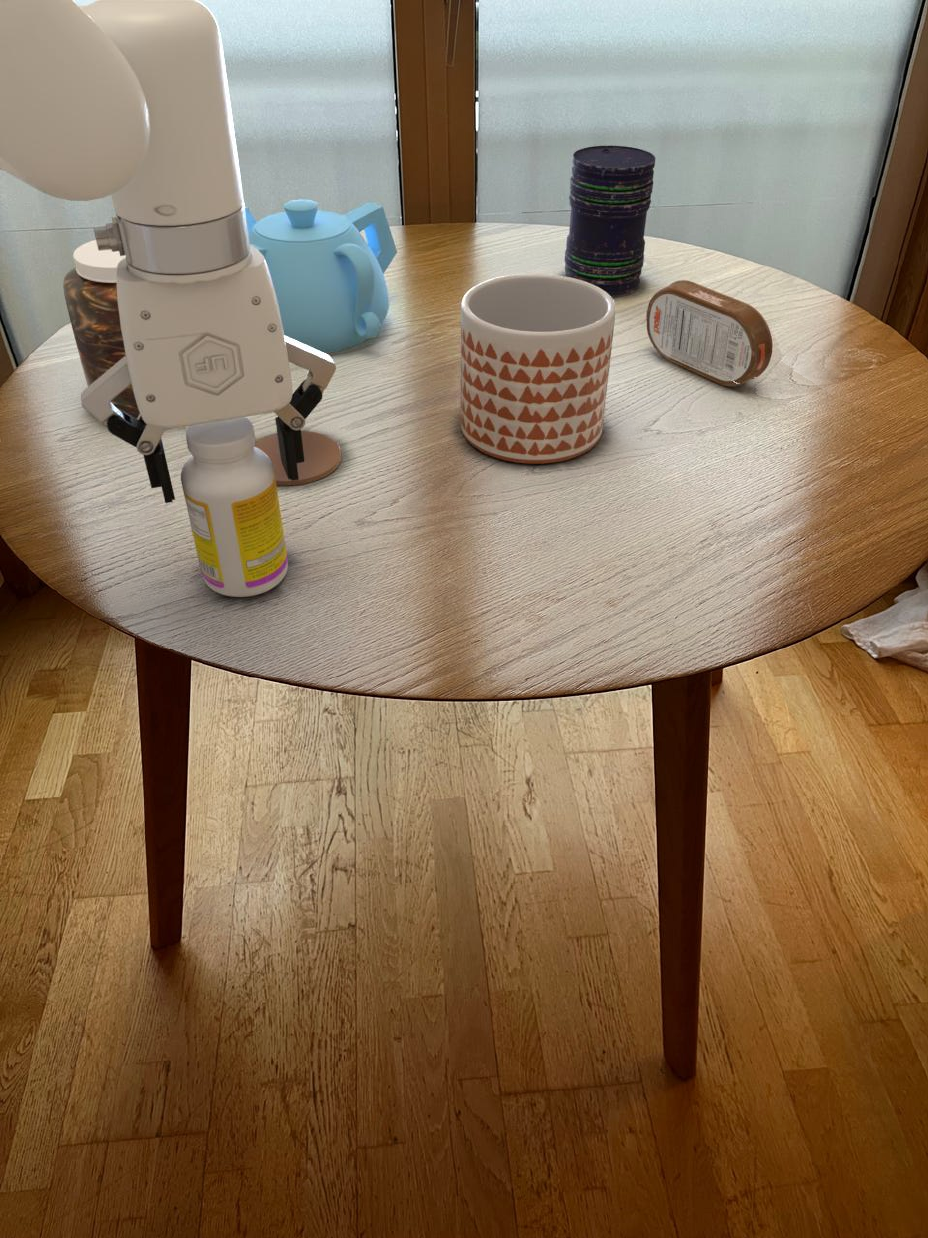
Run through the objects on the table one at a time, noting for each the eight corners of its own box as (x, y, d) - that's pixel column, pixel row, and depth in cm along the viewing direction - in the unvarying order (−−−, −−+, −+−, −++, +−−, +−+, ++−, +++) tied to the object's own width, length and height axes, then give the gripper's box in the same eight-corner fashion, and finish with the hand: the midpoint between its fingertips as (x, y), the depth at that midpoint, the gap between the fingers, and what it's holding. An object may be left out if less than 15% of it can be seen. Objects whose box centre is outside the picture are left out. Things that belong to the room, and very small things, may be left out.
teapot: (399, 296, 118) (394, 177, 109) (387, 366, 103) (379, 235, 94) (244, 295, 118) (226, 176, 109) (210, 365, 104) (185, 234, 95)
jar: (229, 379, 101) (205, 233, 91) (184, 433, 92) (152, 278, 82) (124, 369, 102) (89, 225, 93) (70, 422, 94) (26, 268, 84)
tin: (765, 391, 99) (783, 312, 94) (746, 400, 98) (763, 321, 92) (655, 343, 108) (666, 268, 103) (636, 350, 107) (646, 275, 101)
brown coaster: (252, 493, 84) (251, 488, 84) (235, 444, 91) (234, 439, 90) (352, 475, 86) (351, 470, 86) (328, 428, 93) (328, 424, 93)
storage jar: (652, 294, 119) (669, 165, 109) (577, 300, 117) (588, 170, 108) (624, 265, 126) (638, 142, 117) (553, 271, 125) (561, 147, 115)
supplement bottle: (297, 552, 77) (278, 408, 69) (277, 603, 72) (254, 455, 64) (216, 547, 78) (188, 403, 70) (191, 597, 73) (157, 449, 65)
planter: (499, 385, 100) (503, 262, 92) (622, 416, 95) (638, 289, 87) (434, 443, 91) (432, 313, 83) (567, 480, 86) (579, 346, 78)
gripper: (36, 276, 54) (109, 532, 65) (339, 241, 58) (359, 487, 69) (34, 233, 59) (102, 476, 70) (312, 204, 63) (334, 437, 75)
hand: (230, 480), depth 70 cm, fingers open, 8 cm apart
